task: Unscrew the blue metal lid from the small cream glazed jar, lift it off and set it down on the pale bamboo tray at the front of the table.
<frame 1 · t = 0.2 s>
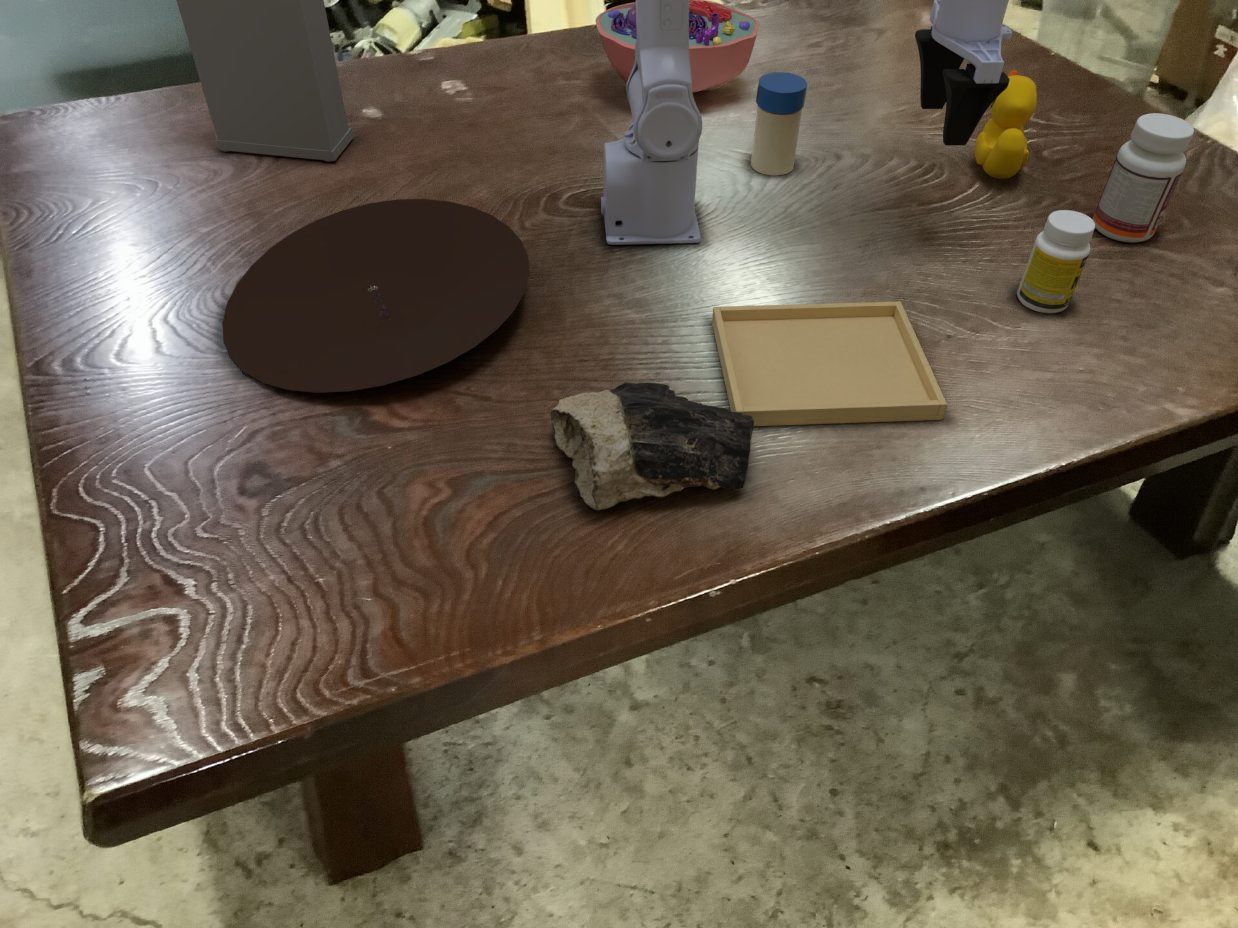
hand: (942, 125, 96), 10 cm above the table, tool pointing down, fingers open, 7 cm apart
supplement bottle: (1041, 301, 92), on the table
duckling: (994, 170, 110), on the table
lid: (782, 86, 104), point 9 cm above the table, screwed on, not yet turned
cell model: (674, 91, 124), on the table
tray: (820, 368, 85), on the table
dark brown round disc: (380, 307, 91), on the table
jar: (772, 165, 110), on the table
mineral specimen: (658, 456, 77), on the table
pill bottle: (1121, 230, 102), on the table
grey upright box: (288, 147, 113), on the table
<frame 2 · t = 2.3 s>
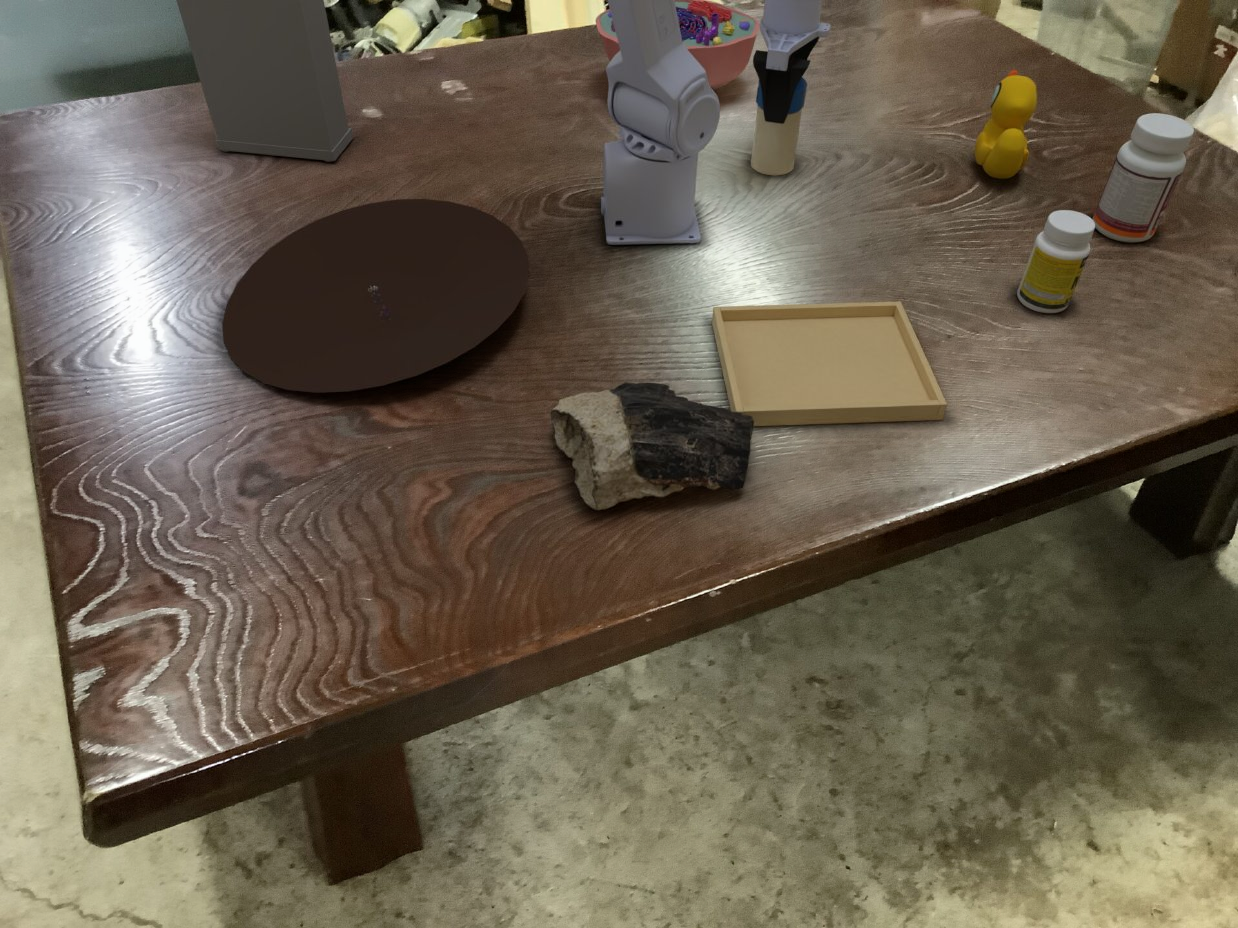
hand: (779, 110, 106), 6 cm above the table, tool pointing down, fingers closed on lid, 5 cm apart
lid: (782, 86, 104), point 9 cm above the table, screwed on, not yet turned, touching gripper
everything else where it was.
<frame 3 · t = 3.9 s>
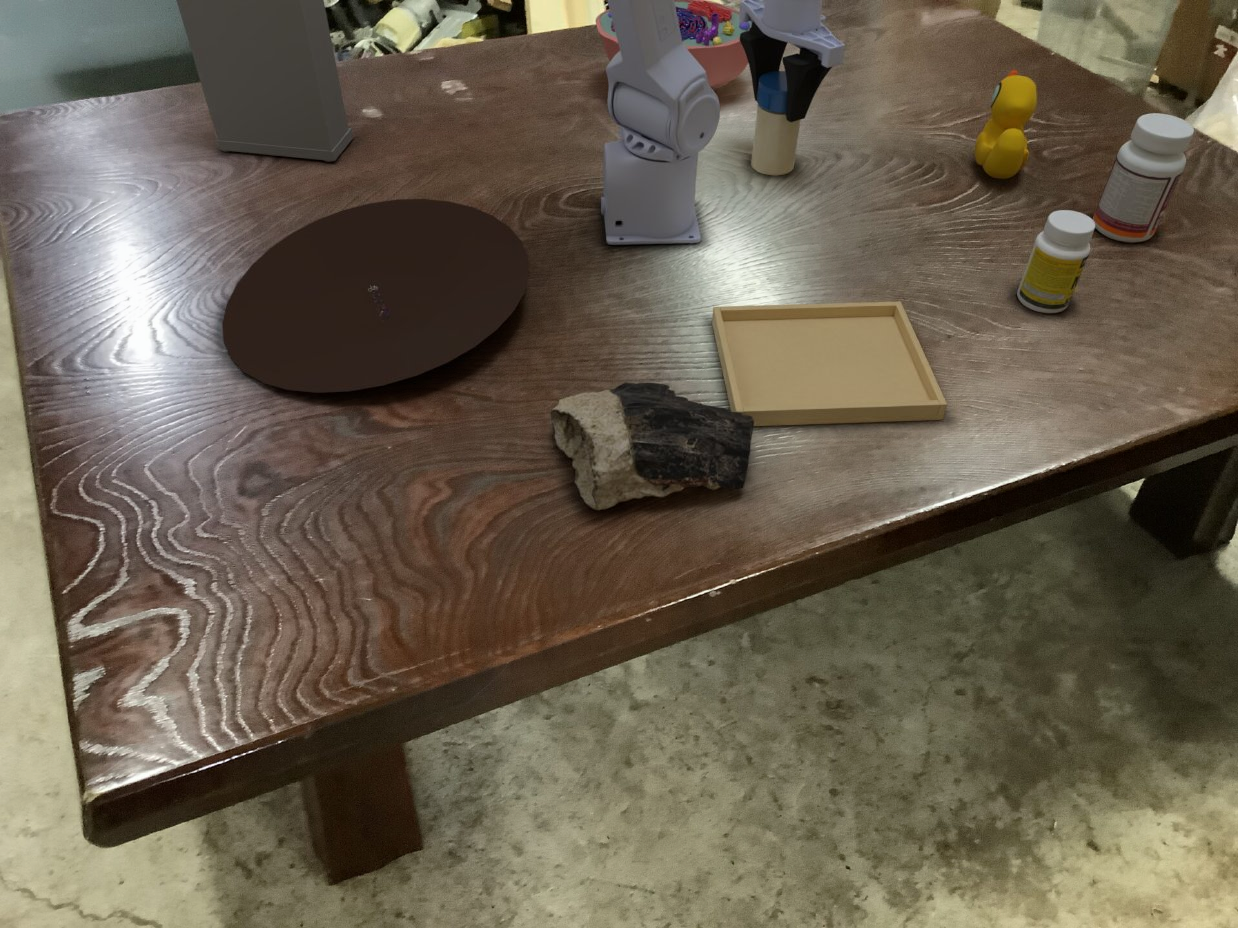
hand: (779, 109, 106), 7 cm above the table, tool pointing down, fingers closed on lid, 5 cm apart
lid: (782, 84, 104), point 9 cm above the table, turned 48° so far, risen 0.1 cm, still on its thread, touching gripper
everything else where it was.
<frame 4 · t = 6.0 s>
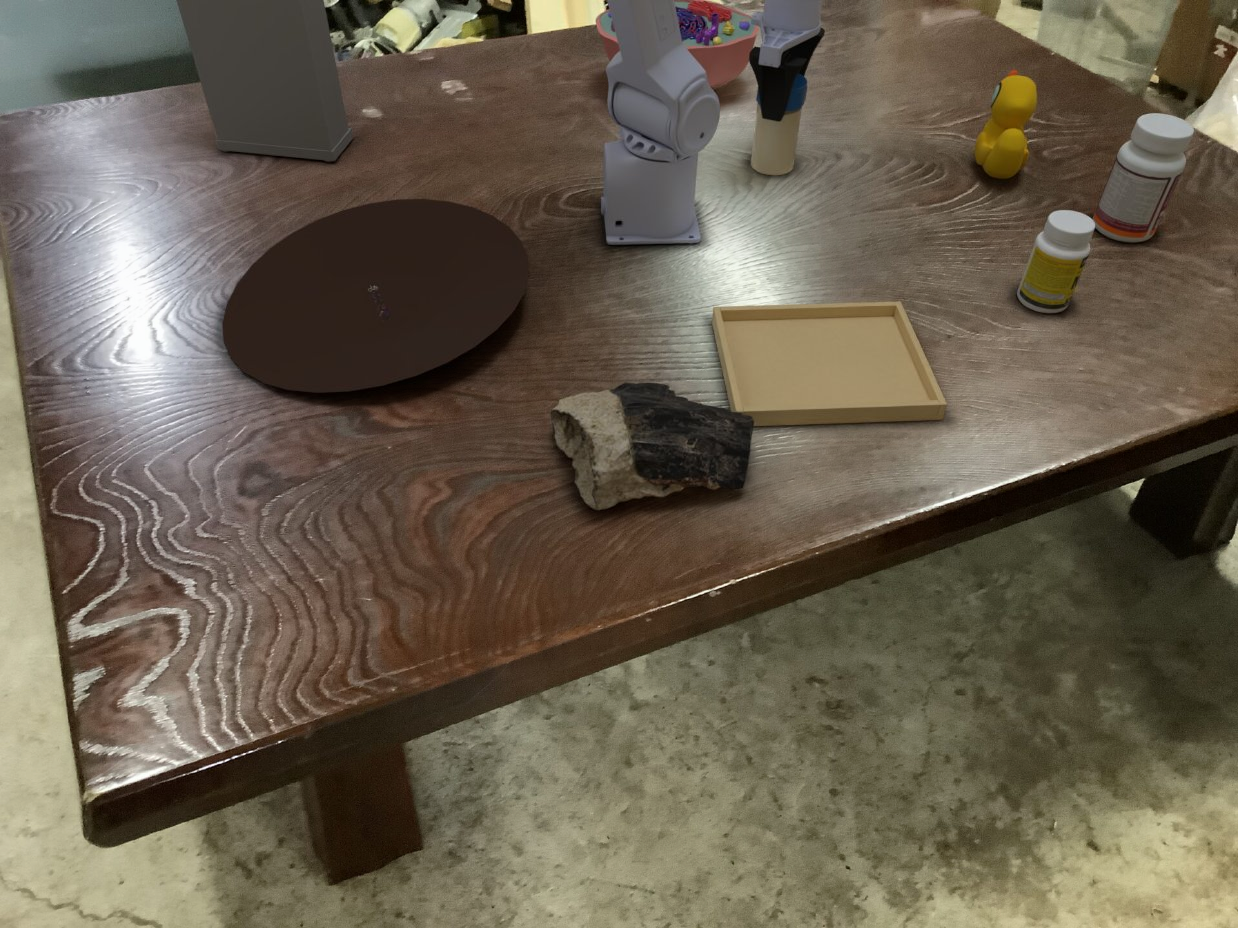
hand: (779, 108, 106), 7 cm above the table, tool pointing down, fingers closed on lid, 5 cm apart
lid: (782, 83, 104), point 9 cm above the table, off its thread, touching gripper
jar: (772, 165, 110), on the table, touching gripper
everything else where it was.
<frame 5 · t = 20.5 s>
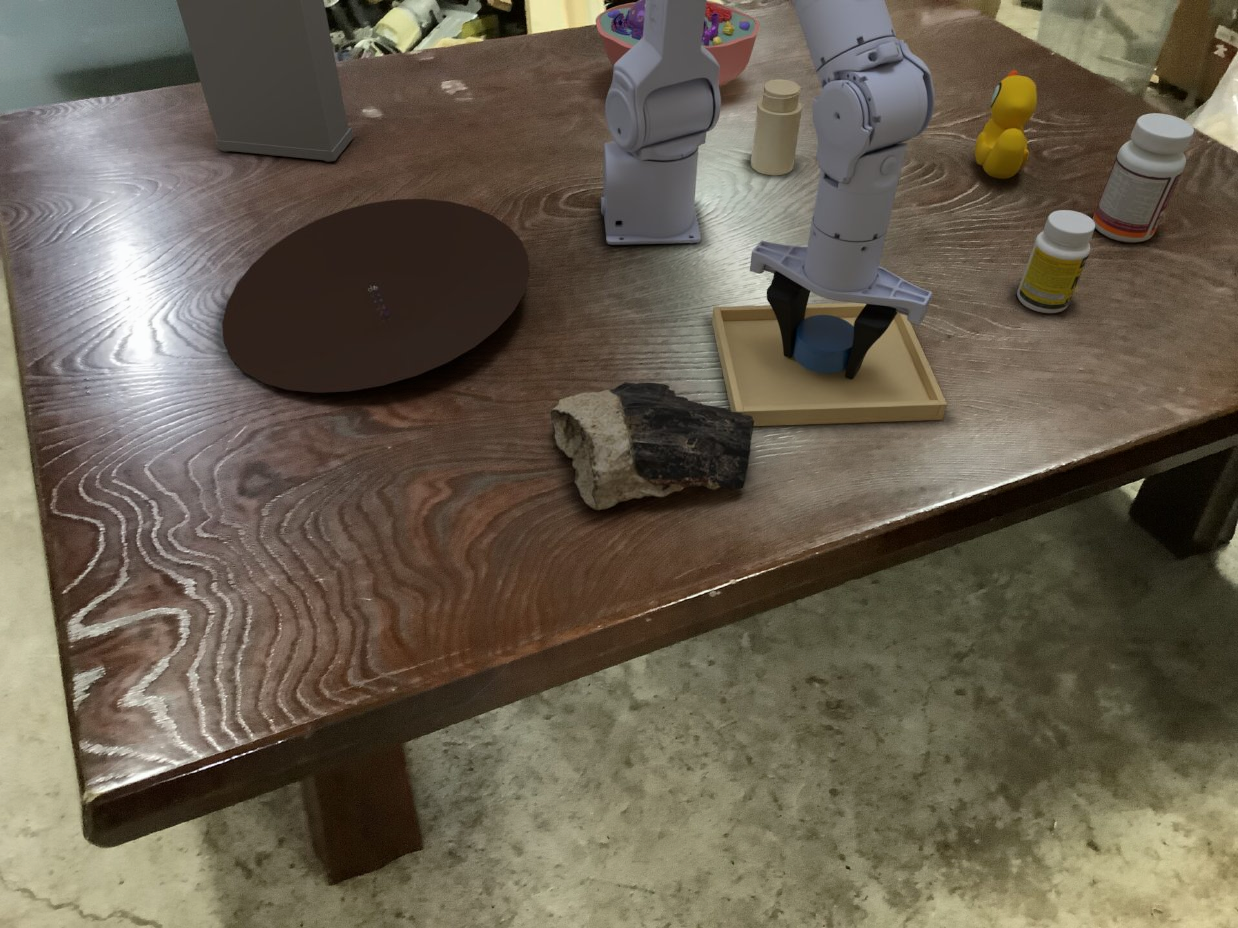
hand: (822, 361, 84), 1 cm above the table, tool pointing down, fingers closed on lid, 5 cm apart
lid: (826, 336, 82), point 3 cm above the table, off its thread, touching gripper
jar: (772, 165, 110), on the table
everything else where it was.
when the fingers open (2 cm above the table, at t = 25.3 s): lid drops 3 cm, resting on tray.
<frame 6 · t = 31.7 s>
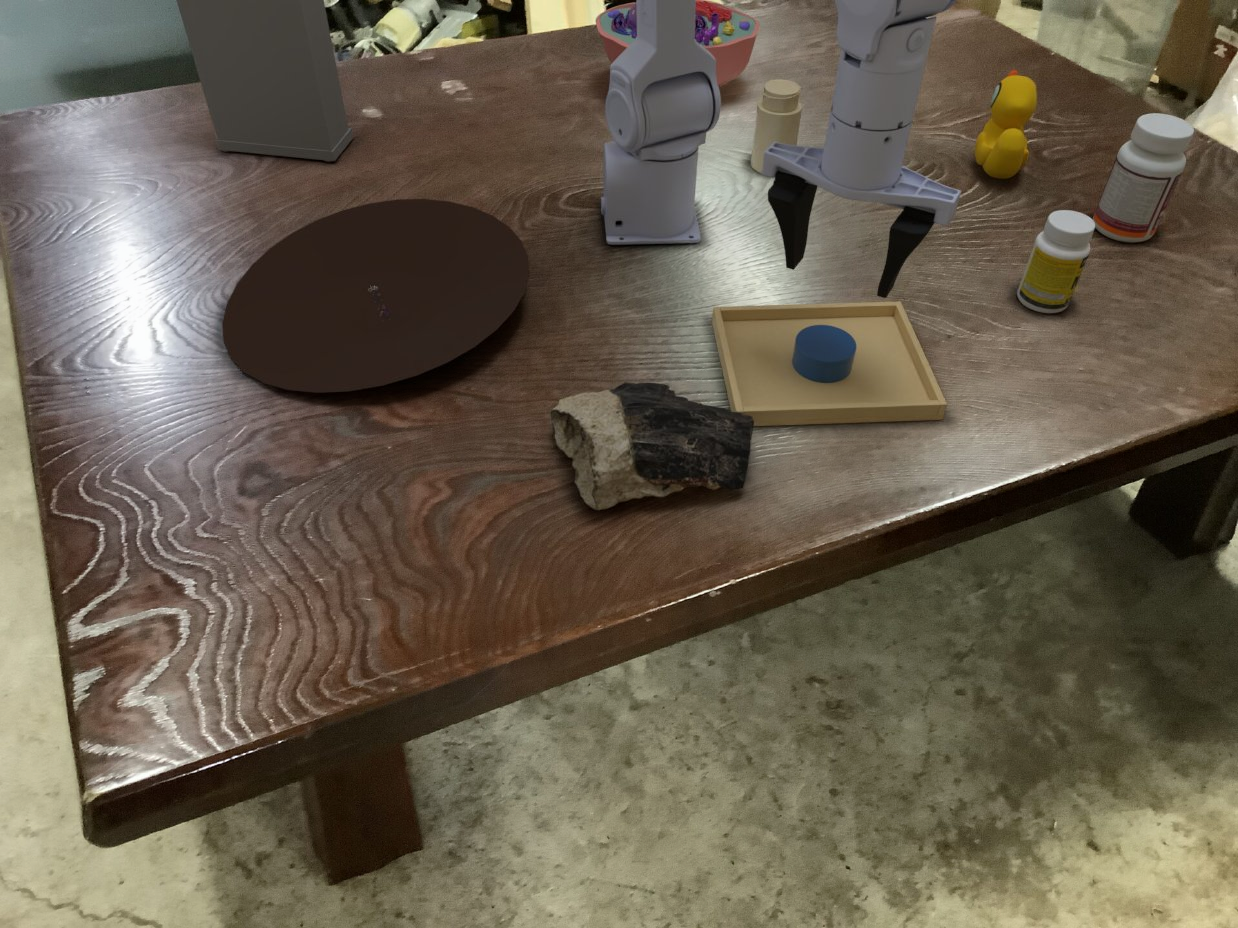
hand: (839, 276, 78), 9 cm above the table, tool pointing down, fingers open, 7 cm apart
lid: (825, 346, 83), point 2 cm above the table, off its thread, touching tray
everything else where it was.
at the end: lid came off its thread; lid inside the target area on the tray (0.0 cm from its centre), point 2.4 cm above the tray's base; the gripper is holding nothing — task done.
